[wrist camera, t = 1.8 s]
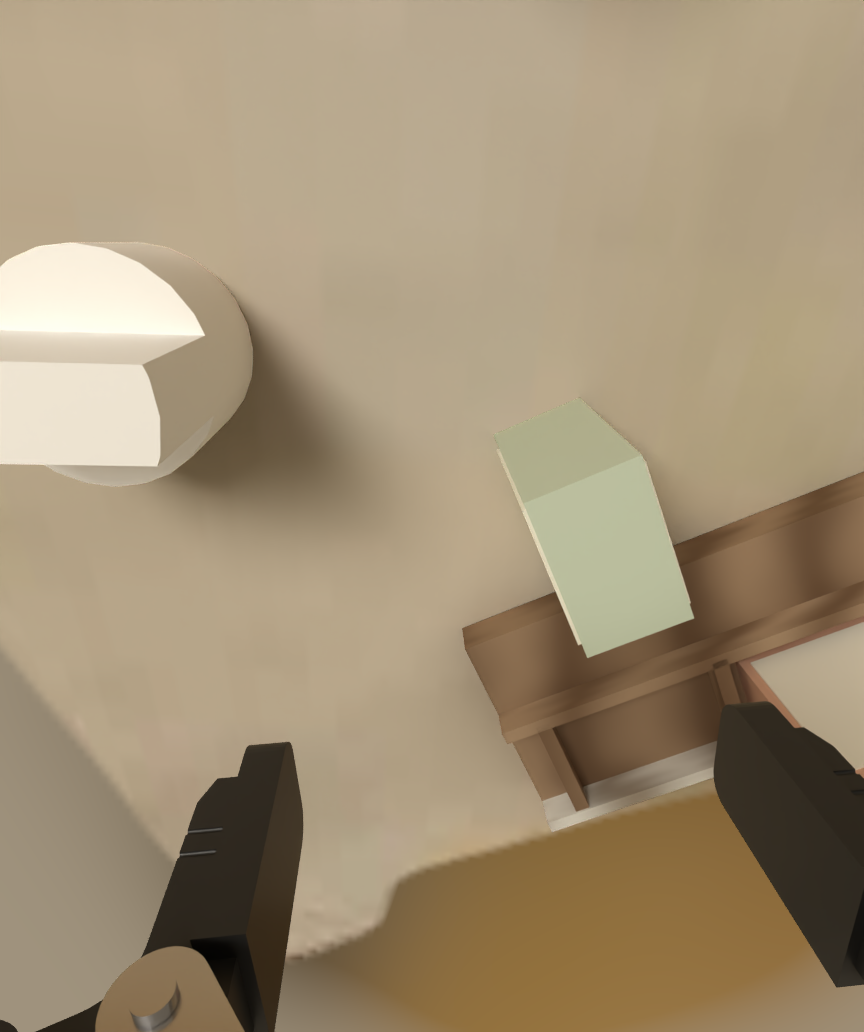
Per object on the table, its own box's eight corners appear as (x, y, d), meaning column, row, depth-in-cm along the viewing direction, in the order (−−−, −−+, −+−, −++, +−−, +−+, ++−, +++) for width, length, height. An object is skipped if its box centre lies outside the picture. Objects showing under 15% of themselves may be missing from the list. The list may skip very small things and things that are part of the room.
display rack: (892, 460, 32) (947, 485, 29) (921, 651, 37) (970, 690, 34) (462, 628, 36) (467, 667, 32) (540, 783, 41) (552, 832, 37)
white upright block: (244, 245, 28) (135, 248, 16) (260, 444, 31) (179, 556, 20) (32, 238, 27) (-225, 237, 16) (73, 441, 31) (-114, 553, 20)
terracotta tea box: (871, 604, 34) (1022, 722, 25) (883, 671, 35) (1028, 802, 27) (733, 654, 35) (834, 783, 26) (751, 717, 36) (852, 856, 28)
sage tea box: (490, 435, 31) (519, 505, 23) (582, 396, 31) (646, 453, 22) (541, 558, 34) (584, 659, 26) (626, 524, 34) (697, 616, 25)
